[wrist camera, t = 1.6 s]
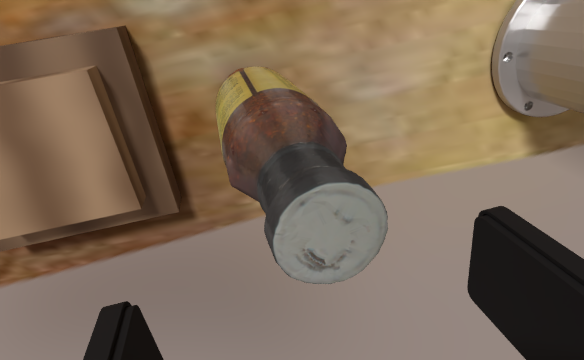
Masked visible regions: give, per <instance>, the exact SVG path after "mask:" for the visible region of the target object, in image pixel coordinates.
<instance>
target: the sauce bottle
mask: <svg viewBox="0 0 584 360" xmlns="http://www.w3.org/2000/svg"><path fill="white" fill-rule="evenodd" d="M215 109H216V118H217V124H218V130H219V137H220V143H221V149H222V155H223V159H224V162H225V165H226V167H227V172H228V175H229V181H230V183H231V186H232V187H234V188H236V189H238V190H239V191H241V192H243V193H245V194H246V195H248V196H250V197H252V198H253V199H255V200H257V201H258V202H260V205H261V207H262V209H263V210H264V212H265V213H266V219H265V225H264V227H265V228H264V231H265V235H266V238H267V241H268V244H269V246H270V248H271V251H272V253H273V256H274V258H275V261H276V263H277V264H278V265H279V266H280V267H281V268H282V270H283V271H284V272H285V273H286V274H287V275H288V276H290V277H292V278H294V279H296V280H300V281H303V282H306V283H313V284H332V283H335V282H340V281H344V280H346V279H348V278H351V277H353V276H355V275H356V274H358V273H359V272H361V271H362V270H363V269H364V268H365V267H366V266H367V265H368V264H369V263H370V262H371V261H372V259H374V257H375V256H376V255H377V254H378V252H379V250H380V248H381V246H382V244H383V242H384V240H385V236H386V233H387V230H388V225H387V218H388V216H387V211H386V209H385V206H384V204H383V203H382V201H381V200H380V198H379V197H378V195H377V194H376V193H375V191H374V190H373V189H372V188H371V187H370V186H369V184H368V183H367V182H366V181H365V180H364V179H363V178H362V177H360V176H358V175H357V174H356V173H354V172H352V171H350V170H347V169H346V168H345V167H344V166H343V163H344V157H345V154H346V147H347V144H346V141H345V138H344V136H343V135H342V133H341V132H340V130H339V129H338V127H337V126H336V124H335V123H334V121H333V120H332V118H331V117H330V116H329V115H328V114H327V113H326V112H325V111H323V110H322V109H321V108H320V107H319V106H318V104H317V103H316V102H314V101H313V100H312V99H311V98H310V97H308V96H307V95H306V94H305V93H303V92H302V91H301V90H300V89H298V88H297V87H296V86H295V85H293V84H292V83H291V82H289V81H288V80H287V79H285V78H284V77H283V76H281V75H280V74H278V73H277V72H275V71H273V70H270V69H268V68H264V67H247V68H241V69H238V70H236V71H235V72H233V73H232V74H231V75H229V77H228V78H227V79H226V80H225V81H224V83H223V84H222V86H221V88H220V89H219V91H218V94H217V99H216V107H215Z"/></svg>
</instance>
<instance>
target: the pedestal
mask: <svg viewBox="0 0 584 360" xmlns="http://www.w3.org/2000/svg"><path fill="white" fill-rule="evenodd" d="M180 203H181V195H180V192H179V188H178V185H177V182H176V179H175V176H174V173H173V170H172V167H171V164H170V161H169V158H168V155H167V152H166V149H165V146H164V143H163V140H162V137H161V134H160V131H159V128H158V125H157V122H156V118H155V115H154V112H153V109H152V106H151V103H150V100H149V97H148V94H147V91H146V88H145V85H144V82H143V79H142V76H141V73H140V70H139V67H138V64H137V61H136V58H135V55H134V52H133V48H132V45H131V42H130V39H129V36H128V33H127V30H126V27H125V26H120V27H114V28H108V29H102V30H96V31H90V32H84V33H77V34H71V35H65V36H59V37H53V38H47V39H41V40H34V41H28V42H22V43H16V44H10V45H4V46H0V251H5V250H9V249H14V248H18V247H23V246H27V245H32V244H36V243H41V242H45V241H50V240H55V239H59V238H64V237H68V236H73V235H77V234H82V233H86V232H91V231H95V230H100V229H104V228H109V227H114V226H118V225H123V224H127V223H132V222H136V221H141V220H145V219H150V218H154V217H159V216H164V215H168V214H173V213H177V212H179V209H180Z"/></svg>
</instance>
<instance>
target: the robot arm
mask: <svg viewBox="0 0 584 360" xmlns="http://www.w3.org/2000/svg"><path fill="white" fill-rule="evenodd" d="M492 76H493V81H494V86H495V88H496V90H497V93H498V95H499V97H500V98H501V99H502V101H503V102H504V103H505V104H506V105H507V106H508V107H510V108H511V109H513V110H514V111H516V112H519V113H522V114H524V115H528V116H532V117H548V116H553V115H558V114H560V113H562V112H565V111H567V110H570V109H571V110H574V111H578V112H581V113H584V0H516V1H515V3H514V4H513V6H512V7H511V9H510V11H509V12H508V14H507V15H506V17H505V19H504V21H503V23H502V25H501V28H500V30H499V32H498V35H497V39H496V42H495V45H494V50H493V57H492ZM468 293H469V295H470V297H471V299H472V300H473V301H474V303H475V304H476V305H477V306H478V307H479V308H480V309H481V310H482V311H483V313H484V314H485V315H486V316H487V317H488V318H489V319H490V320H491V321H492V322H493V324H494V325H495V326H496V327H497V328H498V329H499V330H500V331H501V332H502V333H503V335H504V336H505V337H506V338H507V339H508V340H509V341H510V342H511V344H512V345H513V346H514V347H515V348H516V349H517V350H518V351H519V352H520V353H521V355H522V356H523V357H524V358H525V359H526V360H584V259H583V258H581V257H579V256H578V255H577V254H575V253H574V252H572V251H570V250H569V249H568V248H566V247H565V246H563V245H562V244H560V243H558V242H557V241H556V240H554V239H553V238H551V237H550V236H548V235H547V234H545V233H544V232H542V231H541V230H539V229H538V228H536V227H535V226H533V225H532V224H530V223H529V222H527V221H526V220H524V219H523V218H521V217H520V216H518V215H517V214H515V213H514V212H512V211H511V210H509V209H508V208H506V207H504V206H498V207H494V208H491V209H487V210H483V211H481V212H480V213H479V216H478V217H477V218H476V219H475V222H474V231H473V240H472V250H471V259H470V268H469V278H468ZM83 360H163V358H162V355H161V353H160V351H159V349H158V347H157V345H156V343H155V340H154V338H153V336H152V334H151V332H150V330H149V328H148V325H147V323H146V321H145V319H144V317H143V315H142V313H141V310H140V308H139V307H138V306H137V305H134V306H131V304H130V303H129V302H127V301H126V302H122V303H118V304H114V305H110V306H106V307H103V308H102V309H101V311H100V313H99V316H98V319H97V322H96V325H95V328H94V331H93V333H92V336H91V339H90V342H89V345H88V347H87V350H86V353H85V356H84V359H83Z"/></svg>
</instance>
